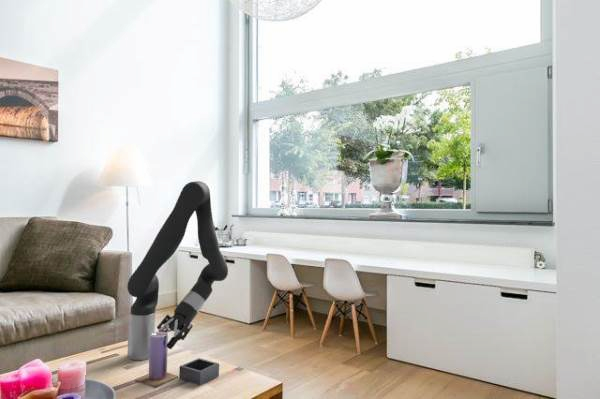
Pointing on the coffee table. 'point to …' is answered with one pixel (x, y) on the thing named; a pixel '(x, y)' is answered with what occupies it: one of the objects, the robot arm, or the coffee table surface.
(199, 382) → the square socket
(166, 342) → the beverage can
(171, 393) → the coffee table surface
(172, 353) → the coffee table surface
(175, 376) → the walnut coaster
